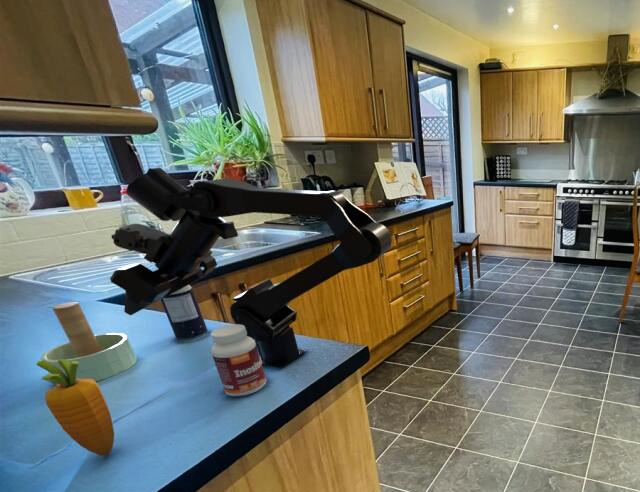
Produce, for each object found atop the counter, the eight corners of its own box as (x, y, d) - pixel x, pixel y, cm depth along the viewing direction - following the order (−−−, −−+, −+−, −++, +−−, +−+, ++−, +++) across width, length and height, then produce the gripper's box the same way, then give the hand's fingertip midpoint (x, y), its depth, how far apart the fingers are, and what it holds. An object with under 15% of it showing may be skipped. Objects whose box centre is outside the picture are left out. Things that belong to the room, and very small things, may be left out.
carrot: (139, 447, 56) (91, 352, 50) (96, 472, 51) (38, 372, 45) (116, 439, 57) (67, 347, 51) (72, 463, 53) (13, 366, 47)
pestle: (121, 364, 76) (91, 301, 71) (92, 377, 72) (57, 311, 67) (103, 361, 77) (72, 299, 72) (73, 374, 73) (37, 309, 68)
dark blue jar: (214, 331, 91) (197, 281, 86) (194, 343, 85) (174, 290, 81) (191, 330, 91) (173, 280, 86) (170, 342, 86) (148, 289, 81)
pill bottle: (244, 400, 66) (224, 340, 61) (216, 394, 67) (194, 336, 63) (275, 380, 71) (258, 324, 66) (249, 375, 73) (230, 320, 68)
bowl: (153, 361, 78) (142, 335, 76) (85, 392, 69) (70, 365, 66) (111, 355, 81) (99, 330, 79) (39, 384, 71) (24, 357, 69)
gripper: (178, 200, 74) (137, 260, 78) (96, 216, 57) (48, 293, 61) (236, 240, 78) (194, 296, 82) (175, 266, 61) (126, 336, 65)
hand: (146, 303), depth 72 cm, fingers open, 9 cm apart
